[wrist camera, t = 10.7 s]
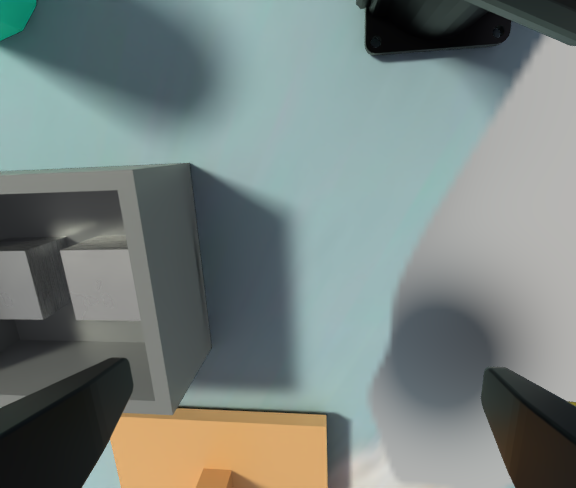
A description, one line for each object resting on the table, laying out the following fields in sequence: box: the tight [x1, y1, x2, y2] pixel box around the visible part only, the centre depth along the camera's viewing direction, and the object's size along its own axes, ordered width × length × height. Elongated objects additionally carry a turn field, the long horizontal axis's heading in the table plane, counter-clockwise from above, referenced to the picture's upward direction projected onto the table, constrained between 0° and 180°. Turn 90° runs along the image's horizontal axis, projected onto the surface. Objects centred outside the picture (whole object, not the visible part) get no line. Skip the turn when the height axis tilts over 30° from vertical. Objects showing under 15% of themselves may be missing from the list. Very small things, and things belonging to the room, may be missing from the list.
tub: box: [0, 163, 212, 415], centre depth 19 cm, size 14×12×6 cm
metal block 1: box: [0, 237, 72, 320], centre depth 20 cm, size 4×4×3 cm
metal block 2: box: [60, 235, 141, 321], centre depth 19 cm, size 4×4×3 cm
